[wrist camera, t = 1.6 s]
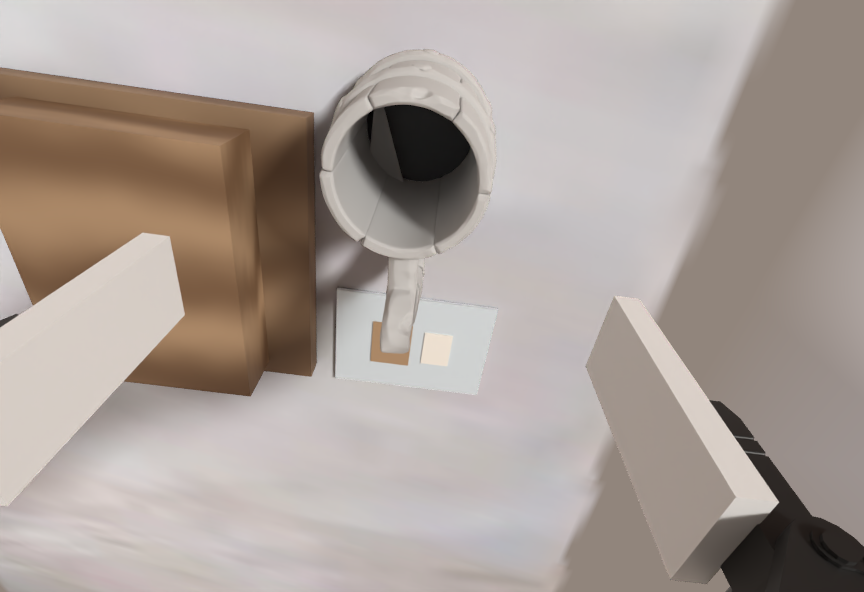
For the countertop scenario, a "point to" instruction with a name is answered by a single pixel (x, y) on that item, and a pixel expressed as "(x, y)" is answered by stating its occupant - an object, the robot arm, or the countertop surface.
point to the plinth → (170, 215)
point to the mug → (401, 198)
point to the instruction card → (413, 343)
